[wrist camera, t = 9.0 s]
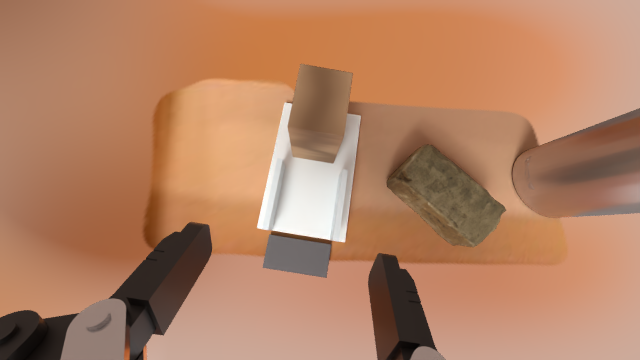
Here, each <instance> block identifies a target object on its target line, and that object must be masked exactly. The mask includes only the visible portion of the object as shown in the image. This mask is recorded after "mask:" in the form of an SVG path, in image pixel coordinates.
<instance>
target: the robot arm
mask: <svg viewBox="0 0 640 360" xmlns="http://www.w3.org/2000/svg"><path fill="white" fill-rule="evenodd" d="M512 176H513V183H514V186H515V189H516V191H517V193H518V195H519V196H520V198H521V199H522V200H523V202H524V203H525V204H526V205H527V206H528V207H530V208H531V209H532V210H533V211H535V212H537V213H538V214H541V215H543V216H546V217H551V218H562V217H579V216H598V215H614V214H631V213H640V108H639V109H636V110H634V111H631V112H629V113H626V114H623V115H621V116H618V117H615V118H612V119H610V120H607V121H604V122H602V123H599V124H596V125H594V126H591V127H588V128H586V129H583V130H580V131H578V132H575V133H572V134H570V135H567V136H564V137H562V138H559V139H556V140H553V141H551V142H548V143H545V144H543V145H540V146H537V147H535V148H532V149H529V150H527V151H525V152H523V153H522V154H521V155H520V156H519V157H518V158H517V160H516V161H515V163H514V167H513V175H512ZM211 252H212V243H211V236H210V229H209V225H207V224H201V223H195V222H190V223H188V224H187V225H186V226H185V228H184V229H183V230H182V231H181V232H174V233H172V234H171V235H169V236H167V237H166V238H164V239H163V240H162V241H161V242H160V243H159V244H158V245H157V246H156V247H155V249H154V251H153V252H151V253H150V254H149V255H148V256H147V258H146V260H144V261H143V262H142V263H141V264H140V265H139V266H138V267H137V269H136V270H135V271H134V272H133V273H132V274H131V275H130V276H129V278H128V279H127V280H126V281H125V282H124V283H123V284H122V285H121V286H120V288H119V289H118V290H117V291H116V292H115V293H114V294H113V295H112V296H111V297H110V298H109V299H106V300H102V301H99V302H96V303H94V304H92V305H90V306H89V307H87V308H86V309H85V310H83V311H81V312H80V313H77V314H71V315H65V316H59V317H52V318H46V319H42V318H41V317H40V316H39V315H38V314H37V313H36V312H34V311H30V310H24V311H18V312H14V313H11V314H8V315H6V316H3V317H1V318H0V360H147V346H146V344H147V342H148V341H149V339H150V337H151V336H152V334H157V335H164V334H165V332H166V330H167V329H168V327H169V325H170V324H171V322H172V320H173V319H174V317H175V315H176V313H177V312H178V310H179V309H180V307H181V305H182V304H183V302H184V300H185V299H186V297H187V295H188V294H189V292H190V290H191V288H192V287H193V285H194V284H195V282H196V280H197V279H198V277H199V275H200V274H201V272H202V270H203V269H204V267H205V265H206V263H207V262H208V260H209V258H210V256H211ZM368 287H369V295H370V303H371V311H372V318H373V326H374V335H375V342H376V350H377V358H378V360H446V359H445V358H444V357H443V356H442V355H441V354H440V353H439V352H438V351H437V349H436V347H435V345H434V342H433V339H432V336H431V332H430V329H429V326H428V323H427V320H426V317H425V314H424V311H423V308H422V305H421V304H420V303H421V301H420V298H419V295H418V294H417V293H418V292H417V289H416V286H415V283H414V280H413V279H412V277H411V276H410V274H409V273H408V272H407V270H406V269H400V267H399V264H398V260H397V258H396V256H394V255H388V254H382V253H379V254H378V255H377V257H376V259H375V262H374V264H373V266H372V269H371V271H370V274H369V281H368Z"/></svg>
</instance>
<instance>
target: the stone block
mask: <svg viewBox="0 0 640 360" xmlns="http://www.w3.org/2000/svg"><path fill="white" fill-rule="evenodd" d="M387 187H388V188H390V189H391V190H392V191H393V193H395V194H396V195H397V196H398V197H399V198H400V199H402V200H403V201H404V202H405V203H406V204H407V205H408V206H409V207H410V208H412V209H413V210H414V211H415V212H417V213H418V214H419V215H420V216H421V218H422V219H424V220H425V221H426V222H427V223H428V224H429V225H430V226H431V227H432V228H433V229H434V230H435V231H436V232H437V233H438V234H439V235H440V236H441V237H442V238H443V239H445V240H446V241H447V242H449V243H450V244H452V245H461V246H467V247H475V246H477V245H478V244H479V243H481V242H482V241H483V240H484V239H485V238H486V237H487V236H488V235H489V234H490V233H491V232H493V231H494V230H495V229H496V227H497V225H498V223H499V221H500V216H501V215H502V213H503V212H505V211H506V209H505V207H504V206H503V205H502V204H500V203H499V202H497V201H496V200H495V199H494V198H493V197H491V196H490V194H489V193H488V191H487V190H486V189H484V188H483V187H482V186H480V185H479V184H478V183H477V182H475V181H474V180H473V179H472V178H471V177H470V176H469V175H468V174H466V173H465V172H464V171H463V170H462V169H461V168H459V167H458V166H457V165H456V164H455V163H453V162H452V161H451V160H450V159H448V158H447V157H445V156H444V155H443V154H442V153H440V152H439V151H438V150H437V149H436V148H435V147H434V146H432V145H424V146H422V147H420V148H419V149H417V150H416V151H415V152H414V153H413V154H411V156H410V157H409V158H408V159H407V160H406V161H405V162H404V163H403V164H402V165H401V166H400V167H399V168H398V169H397V170H396V171H395V172H394V173H393V174H392V175H391V176H390V177H389V179H388V180H387Z"/></svg>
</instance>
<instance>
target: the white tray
mask: <svg viewBox="0 0 640 360" xmlns="http://www.w3.org/2000/svg"><path fill="white" fill-rule="evenodd" d="M291 107H292V104H291V103H286V102H285V103H284V108H283V112H282V117H281V121H280V126H279V130H278V135H277V139H276V144H275V148H274V153H273V157H272V162H271V166H270V171H269V175H268V180H267V185H266V189H265V194H264V198H263V203H262V207H261V212H260V216H259V221H258V225H257V228H260V229H265V230H273V231H279V232H285V233H291V234H297V235H303V236H309V237H316V238H322V239H328V240H332V241H338V242H339V241H340V242H345V239H346V231H347V223H348V215H349V207H350V199H351V191H352V183H353V175H354V168H355V160H356V152H357V144H358V136H359V128H360V120H361V116H360V115H354V114H348V113H347V119H346V127H345V134H344V138H343V140H342V143H341V145H340V148H339V151H338V153H337V156H336V158H335V161H334V163H333V164H332V163H326V162H320V161H314V160H308V159H302V158H296V157H293V155H292V150H291V144H290V138H289V132H288V127H287V126H288V121H289V117H290V112H291ZM330 249H331V244H325V243H318V242H312V241H306V240H300V239H294V238H288V237H282V236H275V235H269V239H268V244H267V249H266V254H265V258H264V264H263V268H269V269H274V270H281V271H287V272H294V273H300V274H306V275H312V276H319V277H325V278H326V277H327V271H328V264H329V256H330Z"/></svg>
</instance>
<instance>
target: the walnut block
mask: <svg viewBox="0 0 640 360" xmlns="http://www.w3.org/2000/svg"><path fill="white" fill-rule="evenodd" d="M352 76H353V73H350V72H344V71H339V70H333V69H327V68H321V67H316V66H310V65H305V64H300V68H299V73H298V78H297V83H296V88H295V92H294V97H293V102H292V107H291V112H290V117H289V121H288V126H287V127H288V132H289V138H290V144H291V150H292V155H293V157H296V158H302V159H308V160H314V161H320V162H326V163H332V164H333V163H334V161H335V158H336V156H337V153H338V151H339V148H340V145H341V143H342V140H343V138H344V134H345V127H346V119H347V112H348V105H349V97H350V90H351V83H352Z"/></svg>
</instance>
